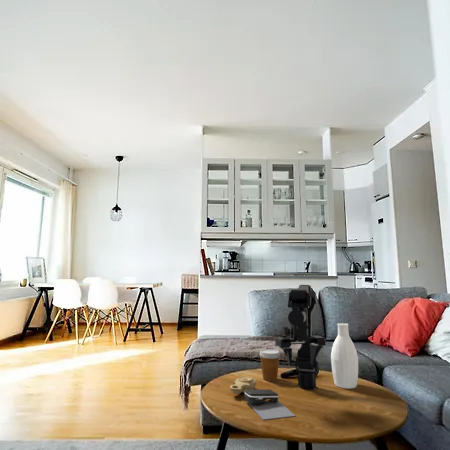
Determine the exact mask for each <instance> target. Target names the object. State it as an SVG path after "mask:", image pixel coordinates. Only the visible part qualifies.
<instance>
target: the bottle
mask: <svg viewBox="0 0 450 450" xmlns="http://www.w3.org/2000/svg"><path fill="white" fill-rule="evenodd" d="M336 325H337V336H336V338H335V340H334V342H333V343H332V347H331V354H330V362H331V373H332V377H333V382H334V383H333V384H334V385H335V386H336V387H338V388H341V389H348V390H349V389H350V390H351V389H355V388H357V386H358V378H359V358H358V357H359V355H358V352H357V349H356V346H355V344H354V342H353V341H352V338H351V337H350V334H349V333H350V332H349V323H345V322H341V323H340V322H339V323H337V324H336Z"/></svg>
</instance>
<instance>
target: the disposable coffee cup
mask: <svg viewBox="0 0 450 450" xmlns="http://www.w3.org/2000/svg"><path fill="white" fill-rule="evenodd" d="M280 357H281V353H280V351H279V350H277V349H269V348H268V349H261V350H260V352H259V358H260V363H261V364H260V365H261V373H262V380H264V381H267V382H275V381H277V380H278V373H279V363H280Z"/></svg>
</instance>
